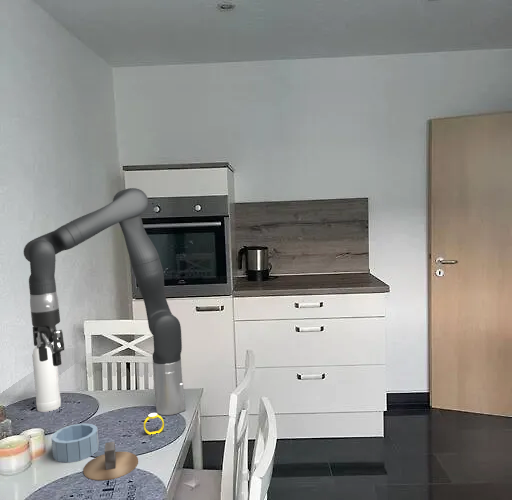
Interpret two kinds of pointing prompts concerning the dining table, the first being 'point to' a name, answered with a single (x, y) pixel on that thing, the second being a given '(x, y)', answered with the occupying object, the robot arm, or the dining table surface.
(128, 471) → the lid
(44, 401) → the bottle
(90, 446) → the bowl
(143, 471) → the dining table surface
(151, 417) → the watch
